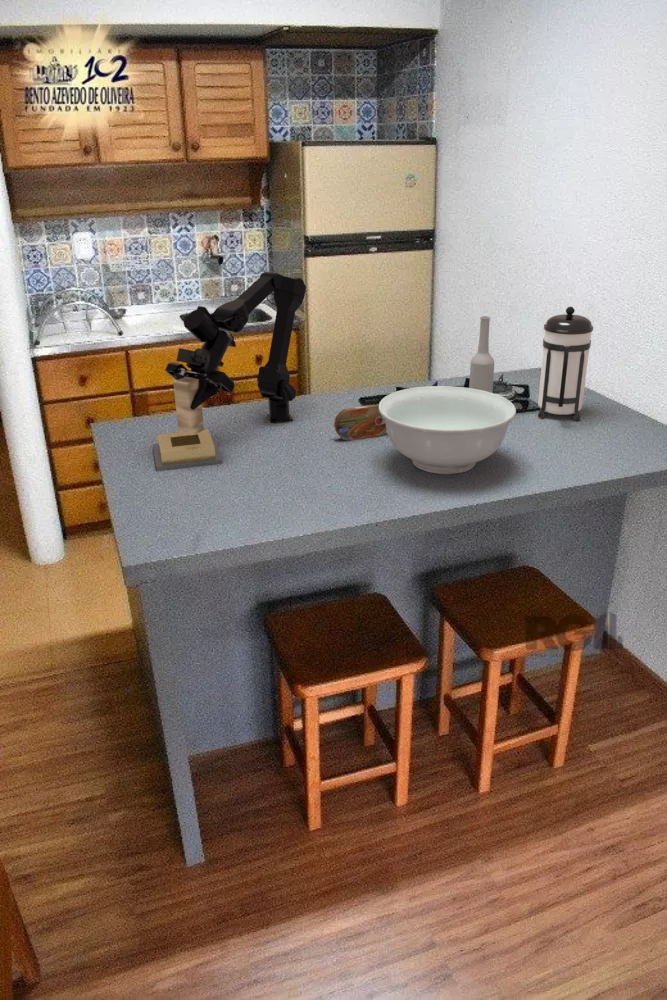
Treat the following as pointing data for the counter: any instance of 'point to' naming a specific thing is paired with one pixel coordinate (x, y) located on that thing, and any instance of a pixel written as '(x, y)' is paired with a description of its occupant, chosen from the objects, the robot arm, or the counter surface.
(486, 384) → the bottle
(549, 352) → the coffee press
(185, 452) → the socket
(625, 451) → the counter surface
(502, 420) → the bowl
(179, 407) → the pin
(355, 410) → the tin
